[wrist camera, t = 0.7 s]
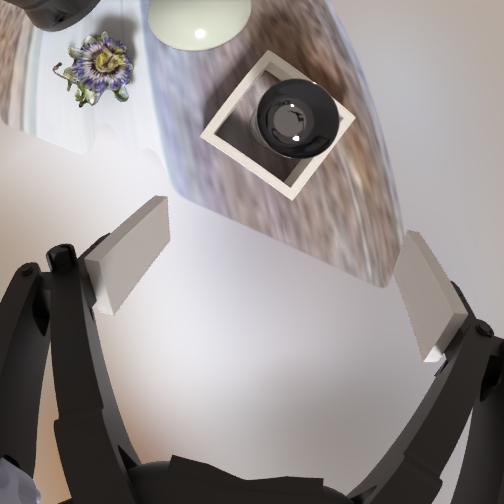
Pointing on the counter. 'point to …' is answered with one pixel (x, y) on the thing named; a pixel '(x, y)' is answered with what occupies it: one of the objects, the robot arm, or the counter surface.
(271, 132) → the wine glass
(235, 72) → the counter surface
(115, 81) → the passion flower
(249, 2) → the plate
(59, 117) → the counter surface
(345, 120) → the holder
